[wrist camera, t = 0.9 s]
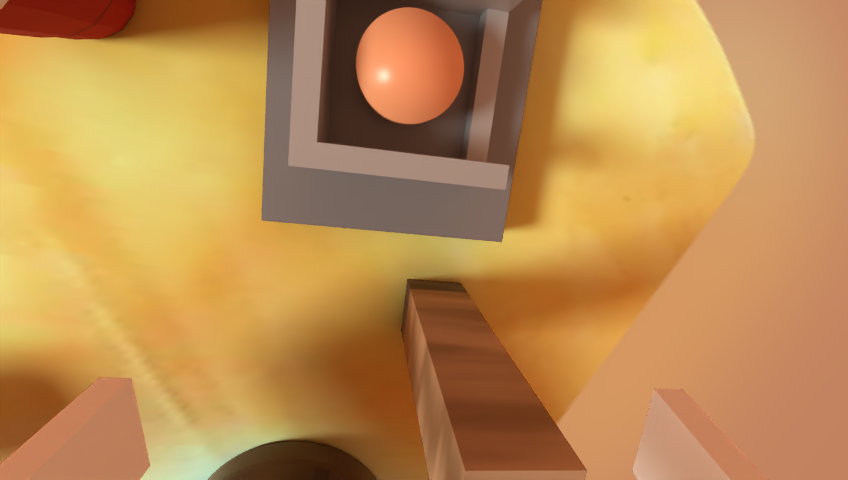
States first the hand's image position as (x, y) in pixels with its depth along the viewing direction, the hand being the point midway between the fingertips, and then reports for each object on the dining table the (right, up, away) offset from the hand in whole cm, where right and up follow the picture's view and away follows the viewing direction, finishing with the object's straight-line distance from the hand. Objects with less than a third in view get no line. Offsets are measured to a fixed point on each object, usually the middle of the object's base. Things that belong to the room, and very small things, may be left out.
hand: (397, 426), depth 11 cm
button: (0, +14, +11) cm, 17 cm away
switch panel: (-1, +15, +16) cm, 22 cm away
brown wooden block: (+1, 0, +20) cm, 20 cm away
